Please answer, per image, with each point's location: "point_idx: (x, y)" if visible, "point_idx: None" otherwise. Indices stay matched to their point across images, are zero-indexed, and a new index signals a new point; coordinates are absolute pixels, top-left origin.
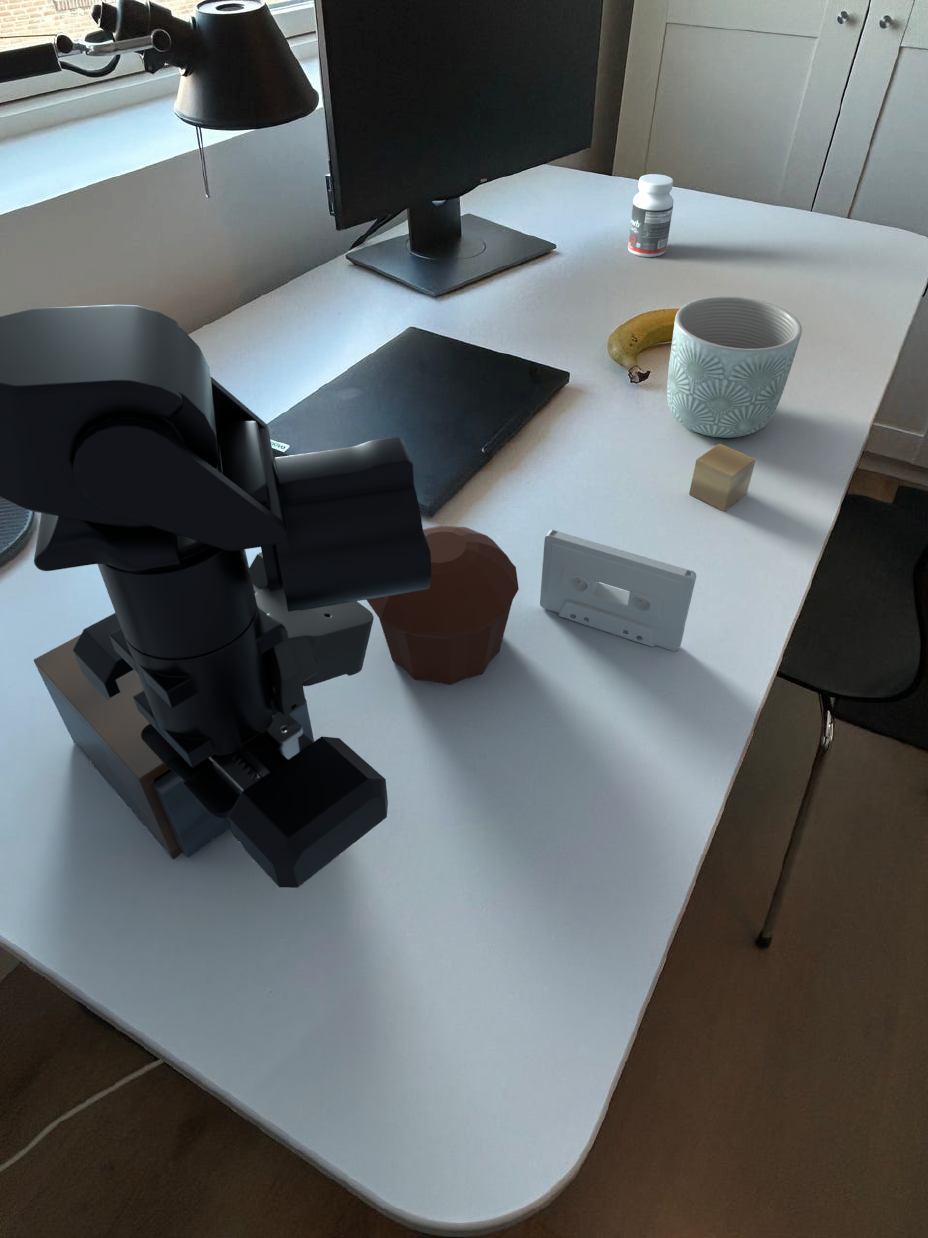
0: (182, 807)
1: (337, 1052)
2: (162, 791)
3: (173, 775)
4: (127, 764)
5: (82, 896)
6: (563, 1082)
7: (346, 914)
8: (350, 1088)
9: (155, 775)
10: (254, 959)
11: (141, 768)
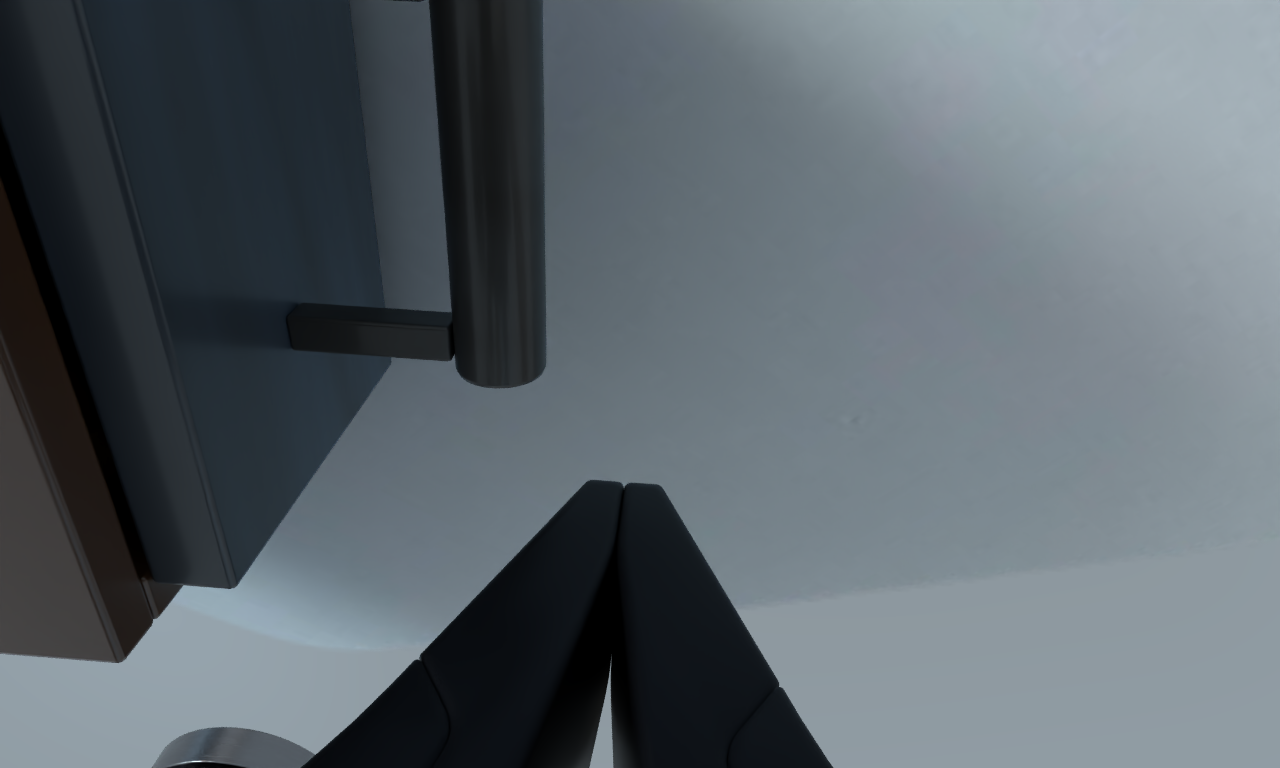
0: (290, 461)
1: (1099, 413)
2: (216, 583)
3: (159, 521)
4: (14, 652)
5: (314, 540)
6: None
7: (879, 147)
8: (1175, 444)
9: (127, 588)
10: (758, 396)
11: (66, 633)
